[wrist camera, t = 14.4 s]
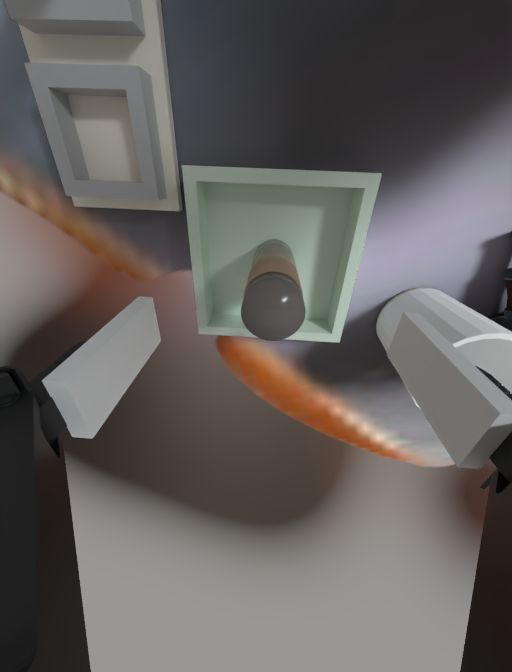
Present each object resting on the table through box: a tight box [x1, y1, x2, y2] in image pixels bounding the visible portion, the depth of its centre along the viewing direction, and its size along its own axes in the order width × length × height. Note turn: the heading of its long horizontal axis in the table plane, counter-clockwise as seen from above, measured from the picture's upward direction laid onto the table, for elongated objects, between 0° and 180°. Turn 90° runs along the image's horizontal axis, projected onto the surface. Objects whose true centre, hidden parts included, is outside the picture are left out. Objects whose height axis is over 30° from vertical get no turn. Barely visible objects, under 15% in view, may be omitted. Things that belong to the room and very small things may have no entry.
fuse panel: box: [4, 0, 183, 211], centre depth 18 cm, size 20×10×3 cm, turn 178°
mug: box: [376, 287, 512, 408], centre depth 25 cm, size 11×9×10 cm
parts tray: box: [182, 165, 382, 343], centre depth 25 cm, size 15×15×4 cm
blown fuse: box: [241, 239, 306, 341], centre depth 20 cm, size 4×4×12 cm
